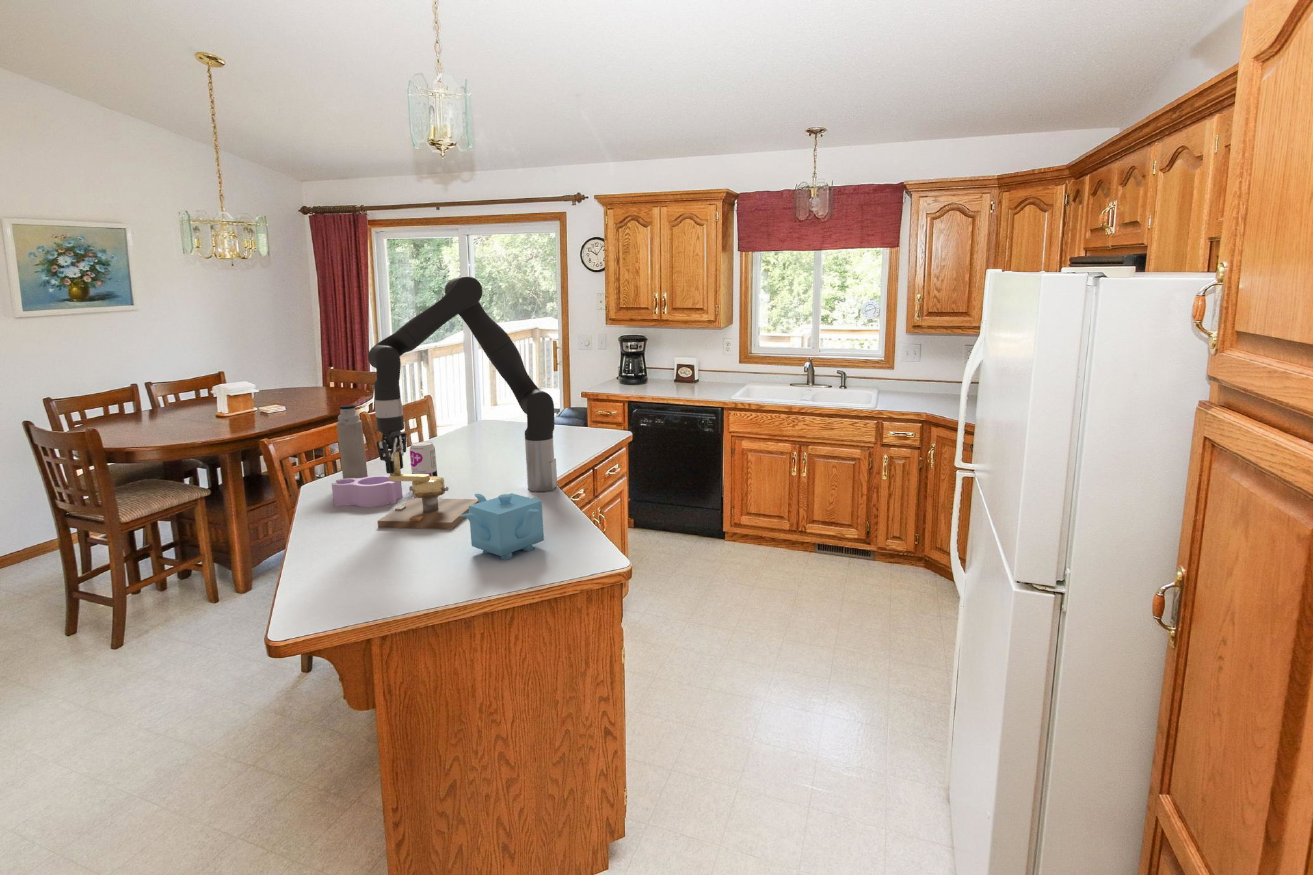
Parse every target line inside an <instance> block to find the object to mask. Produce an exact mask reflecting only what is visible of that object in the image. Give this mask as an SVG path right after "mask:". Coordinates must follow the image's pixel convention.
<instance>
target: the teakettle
mask: <svg viewBox="0 0 1313 875" xmlns="http://www.w3.org/2000/svg"><path fill="white" fill-rule="evenodd" d="M474 496H475V498H476V499H478V500H479V503H477V504H474V505H471V506H469V513H466V514H462V515H460V516H462V517H466V518H465V519H467V520H468V522H469V527H470V529H469V530H470V540H471V543H470V544H471V547H472V548H476V549H478V550H481V551H482V553H483V554H492V555H493V554H494V555H495V556H498V557H500V559H501V560H509V559H512V558H513V553H514V552H517V551H520V550H522V551H524V552H525V551H526V552H530V551H534V550H535V548H534V546H533V545H535V544H538V543H541V542H543V541H545V536H544V517H543V502H542V500H541V499H540V498H537V497H528V496H524V495H520V494H517V493H505V494H500V495H498V497H494V498H491V499H488V500H487V498H486V497H485V496H484V495H483V494H482V493H474Z"/></svg>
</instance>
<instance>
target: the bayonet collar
mask: <svg viewBox="0 0 1313 875" xmlns="http://www.w3.org/2000/svg"><path fill="white" fill-rule="evenodd" d="M389 455H390V453H389ZM393 461H394V470H395V472H394V473H393V474H389V475H388V476H389V481H401V482H411V484H412V486H409V487H408V488H409V491H412V494H413V498H431V497H436V496H437V497H440V496H442V495H444V494H445V493H446V492H449V486H445V477H443V476H438V475H437V476H438V477H437V476H431V477H430V475H429V474H412V473H408V474H407V473H401V472H402V471H401V469H400V460H399V451H396V452H395V453H394V457H393Z"/></svg>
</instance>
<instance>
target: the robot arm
mask: <svg viewBox="0 0 1313 875" xmlns="http://www.w3.org/2000/svg"><path fill="white" fill-rule="evenodd" d="M482 296H483V287H482V284H481V283H480V281H479V280H478V279H477V278H475V277H473V276H470V275H469V276H468V275H462V276H459V277H455V278H452V279H450V280H449V281H448V282H447V283H446V285H445V289H444V296H442V297H441V298H440V299H439V300H438V301H436V302H435V303H434V304H432V305H431V306H429V307H427V308H426V309H425V310H423V311H422V312H420V313H418V314H417V315H416V316H414V317H412V318H411V319H409V320H408V321H407V322H406V323H404V324H403V325H402V326H400V328H399V329H397V330H396V331H395V332H394V333H392V334H391V335H389V336H387V337H385V338H383V339H382V340H380V341H379V342H377V343H376V344H375V345H374V346H373V347H371V348H370V349H369V351H368V352H367V353H368V354H367V360H368V363H369V365H371V366H372V367H373V368H374V369H376V370H375V371H376V380H374V383H373V393H374V411H375V412H374V413H375V420H376V421H375V422H376V430H377V431H378V432H379V433H381V434H382V435H381V440H380V441H376V448H377V452H378V457H379V460H380V461H383V462H385V471H386V474H388V475H390V474H393V473H394V472H395V470H394V461H393V457H394V453H395V452H396V451H399V460H400V470H401V469H404V460H403V456H404V453H407V435H408V434H407V433H406V432H401V431H402V430H403V431H404V429H405V418H404V409H403V403H402V398H401V397H402V396H401V387H400V379H401V367H402V366H401V364H402V363H401V358H400V357H401V356H402V355H404V354H406V353H409V352H412V351H414V350H415V349H416V348H418V346H420V345H421V344H422V343H424V342H425V341H426V340H427V339H429V337H431V336H432V335H433V334H434V333H435V332H437V331H438V330H439V329H441V327H442V326H444V325H445V324H446V323H447V322H449V321H450V320H452V319H453V318H455V317H456V316H459V317H460V318H461V319H462V320H463V322H464V323H465V324H466V326H467V327H468V328H469V330H470V332H471V334H472V335H473V336H474V338H475V340H476V342H477V343H478V344H479V346H480V347H481V349H482V350H483V352H484V354H485V356H486V357H487V358H488V360H489V361H490V362H491V364H492V365H493V367H494V368H495V370H496V371H497V373H499V375H500V376H501V377H502V379H503V380H504V381H505V383H506V384H507V385H508V386H509V388H510V390H511V392H512V393H513V396H514V397H515V399H516V401H517V403H518V405H519V407H520V409H521V410H522V412H523V413H524V414H525V415H526V421H527V422H526V424H527V426H526V429H525V430H524V445H525V461H526V463H525V464H526V476H527V477H526V478H527V489H528V491H531V492H549V491H554V490H555V489H556V488H557V486H558V474H557V472H558V470H557V459H556V458H555V452H554V449H555V448H554V447H555V446H554V431H555V404H554V399H553V397H552V396H551V394H549V393H548V392H546V391H544V390H541V389H540V388H539V387H538V386H537V385H536V384H535V382H534V381H533V379H531V377H530V375H529V374H528V372H527V370H526V368H525V363H524V361H523V359H522V356H521V353H520V351H519V350H518V348H517V346H516V345H515V343H514V341H513V340H512V338H511V337H510V336H509V334H508V333H507V332H506V331H505V330H504V329H503V328H502V327H501V326H500V325H499V324H498V323H497V322H496V321H495V320H493V318H492V317H490V316H489V314H488V313H487V312H486V310H485V309H484V308H483V306H482V304H481V303H480V300H481V299H482ZM389 453H390V455H389Z"/></svg>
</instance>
